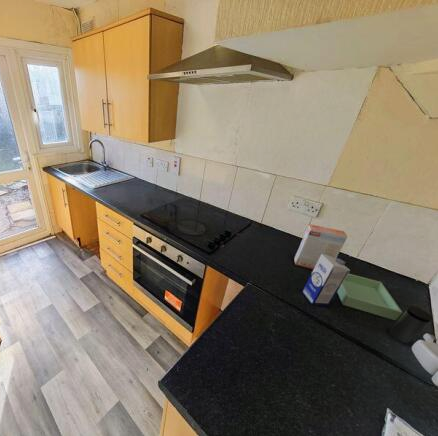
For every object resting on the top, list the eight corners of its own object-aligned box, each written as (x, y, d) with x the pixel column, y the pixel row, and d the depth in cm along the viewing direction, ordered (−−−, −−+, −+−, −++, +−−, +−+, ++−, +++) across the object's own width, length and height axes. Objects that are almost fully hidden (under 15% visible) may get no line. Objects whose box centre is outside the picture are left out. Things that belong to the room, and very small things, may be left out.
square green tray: (375, 289, 99) (381, 282, 97) (395, 320, 85) (402, 312, 83) (331, 277, 105) (335, 270, 103) (342, 304, 90) (347, 296, 88)
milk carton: (301, 291, 96) (321, 253, 87) (317, 292, 96) (338, 254, 87) (312, 304, 90) (334, 265, 80) (329, 305, 90) (353, 266, 80)
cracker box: (325, 267, 112) (344, 230, 102) (328, 274, 107) (348, 237, 97) (293, 258, 117) (308, 223, 107) (294, 265, 112) (311, 228, 102)
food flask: (404, 333, 80) (425, 309, 75) (413, 346, 76) (436, 322, 70) (385, 327, 82) (404, 303, 76) (392, 339, 78) (413, 315, 72)
